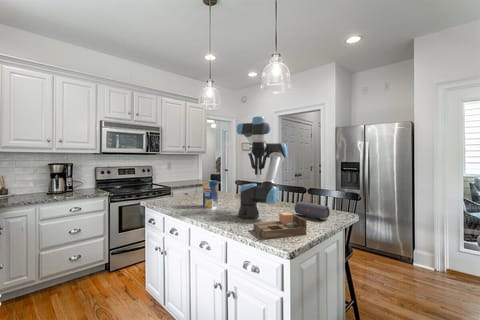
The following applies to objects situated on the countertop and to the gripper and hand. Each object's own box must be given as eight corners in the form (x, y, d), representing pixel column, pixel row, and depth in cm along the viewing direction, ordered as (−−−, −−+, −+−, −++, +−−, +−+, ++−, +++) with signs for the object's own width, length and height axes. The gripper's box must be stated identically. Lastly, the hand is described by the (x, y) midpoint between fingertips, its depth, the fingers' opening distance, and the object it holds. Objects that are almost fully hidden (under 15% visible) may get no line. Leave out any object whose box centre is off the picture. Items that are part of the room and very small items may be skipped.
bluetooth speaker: (293, 215, 172) (294, 202, 172) (300, 213, 179) (300, 200, 179) (323, 222, 156) (323, 207, 156) (330, 219, 163) (330, 204, 163)
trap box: (253, 229, 139) (253, 216, 139) (291, 225, 147) (291, 213, 147) (264, 239, 123) (264, 223, 123) (306, 234, 131) (306, 220, 131)
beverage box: (208, 205, 207) (208, 179, 207) (217, 206, 200) (217, 180, 199) (202, 206, 202) (202, 180, 201) (211, 208, 195) (211, 181, 194)
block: (279, 221, 143) (279, 212, 143) (287, 220, 145) (288, 212, 145) (283, 223, 137) (284, 215, 137) (293, 223, 139) (293, 214, 139)
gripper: (250, 141, 141) (250, 181, 141) (270, 141, 145) (270, 180, 145) (246, 142, 148) (246, 179, 148) (265, 142, 152) (265, 179, 152)
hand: (258, 180), depth 147 cm, fingers closed
